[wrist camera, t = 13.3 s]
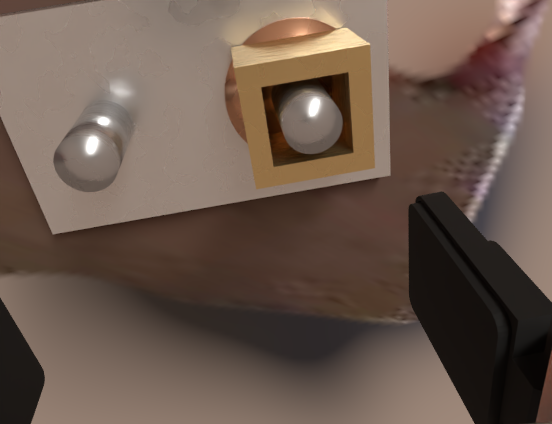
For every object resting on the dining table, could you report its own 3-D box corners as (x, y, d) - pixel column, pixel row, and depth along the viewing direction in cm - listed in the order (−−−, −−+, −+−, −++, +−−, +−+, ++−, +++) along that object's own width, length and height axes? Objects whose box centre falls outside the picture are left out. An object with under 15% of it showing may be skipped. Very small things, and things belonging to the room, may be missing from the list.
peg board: (-30, 19, 28) (-102, 45, 22) (378, -47, 29) (426, -40, 22) (58, 223, 35) (24, 289, 29) (384, 166, 36) (421, 218, 29)
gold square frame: (230, 47, 29) (233, 68, 25) (346, 27, 29) (370, 44, 25) (250, 154, 32) (256, 189, 28) (353, 136, 33) (375, 168, 28)
